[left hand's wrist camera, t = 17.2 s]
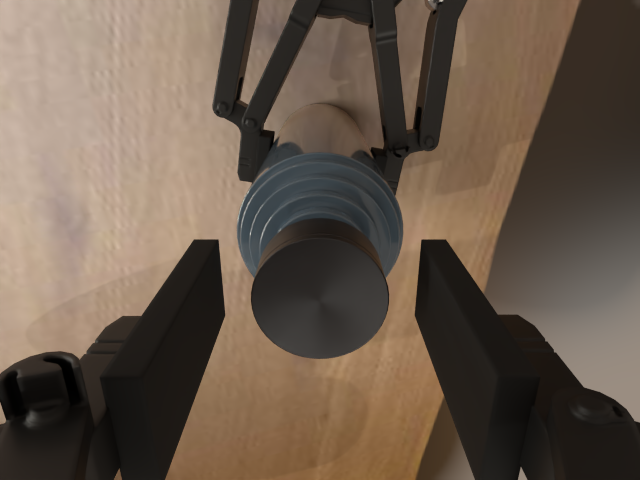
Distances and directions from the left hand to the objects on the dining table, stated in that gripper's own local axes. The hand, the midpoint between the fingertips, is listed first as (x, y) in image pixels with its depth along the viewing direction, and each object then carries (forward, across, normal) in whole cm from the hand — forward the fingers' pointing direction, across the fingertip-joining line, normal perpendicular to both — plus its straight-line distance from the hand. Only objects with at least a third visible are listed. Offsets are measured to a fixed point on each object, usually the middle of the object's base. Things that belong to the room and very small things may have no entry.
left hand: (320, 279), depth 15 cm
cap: (-1, 0, 0) cm, 1 cm away
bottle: (+23, 0, 0) cm, 23 cm away
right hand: (+17, -1, -5) cm, 17 cm away
